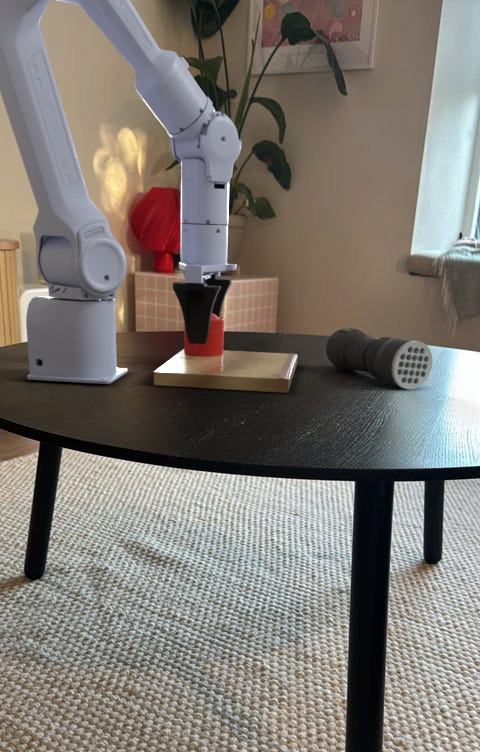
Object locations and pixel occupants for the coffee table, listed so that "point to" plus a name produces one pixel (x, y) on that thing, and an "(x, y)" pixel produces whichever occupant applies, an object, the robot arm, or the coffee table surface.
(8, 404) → the coffee table surface
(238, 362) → the board
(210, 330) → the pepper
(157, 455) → the coffee table surface
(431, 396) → the coffee table surface
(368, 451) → the coffee table surface
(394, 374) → the flashlight
